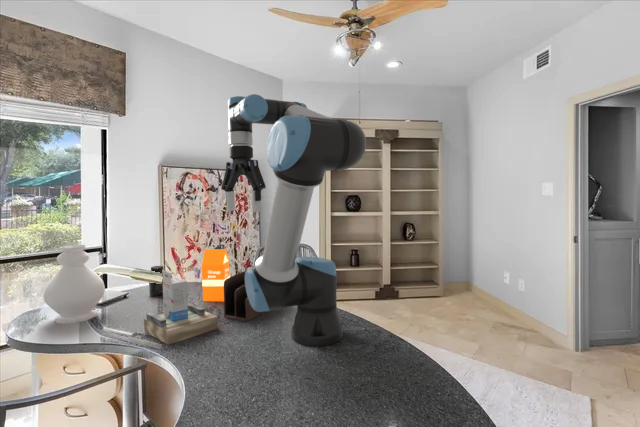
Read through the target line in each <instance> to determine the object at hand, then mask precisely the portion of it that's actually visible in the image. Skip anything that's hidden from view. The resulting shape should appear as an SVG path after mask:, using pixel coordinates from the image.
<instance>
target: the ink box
mask: <svg viewBox="0 0 640 427" xmlns="http://www.w3.org/2000/svg"><path fill="white" fill-rule="evenodd" d="M172 274H173V273H171V272H169V271H167V270H162V277H163V296H162V299H163V300H162V301H163V313H164V315H165V316H166V317H167V318H169V319H170V320H172V321H177V320H182V319H185V318H188V303H189V302H188V286H187V285H188V281H187V280H185V279H183V278H181V277H177V276H174V277H172V276H173V275H172ZM165 275H166V276H165Z"/></svg>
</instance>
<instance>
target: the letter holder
mask: <svg viewBox="0 0 640 427" xmlns="http://www.w3.org/2000/svg"><path fill="white" fill-rule="evenodd" d="M246 271H247V270H244V271H241V272H238V273H236V274H234V275H232V276H230V278H228V279H226V280H225V281H224V301H223V310H224V311H223V315H224V318H225V319H229V320H231V319H232V320H236V321H240V320H241V321H242V322H249V321H251V320H253V319H255V318H257V317H258V316H261V315H262V314H265V313H267V312H268V311H264V312H257V311H255V310H254V309H253V308H252V307H251V305H250V302H249V300H248V296H247V292H246V287H245V272H246Z"/></svg>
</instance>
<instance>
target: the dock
mask: <svg viewBox="0 0 640 427" xmlns="http://www.w3.org/2000/svg"><path fill="white" fill-rule="evenodd" d="M143 324H144V325H143V326H144V328H143V329H144V332H145V333H147V334H149V335H150V336H152V337H154V338H156V339H158V340H159V341H161V342H163V343H164V344H165V345H168V346H169V345H173V344H176V343H178V342H182V341H185V340H188V339H191V338H193V337H196V336H200V335H202V334H206V333H209V332H211V331H212V332H213V331H215V330H218V329H219V328H218V327H219V326H218V325H219V324H218V316H217V315H215V314H213V313H211V312H207V311H206V310H205V307H204V308H203V307H201V306H198V305H196V304H193V303H190V302H188V318H185V319H182V320H177V321H172V320H170V319H169V318H167V317H166V316H165V315H164V312H163V313H160V314H155V313H153V312H147V313H146V317H145V318H143Z"/></svg>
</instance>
